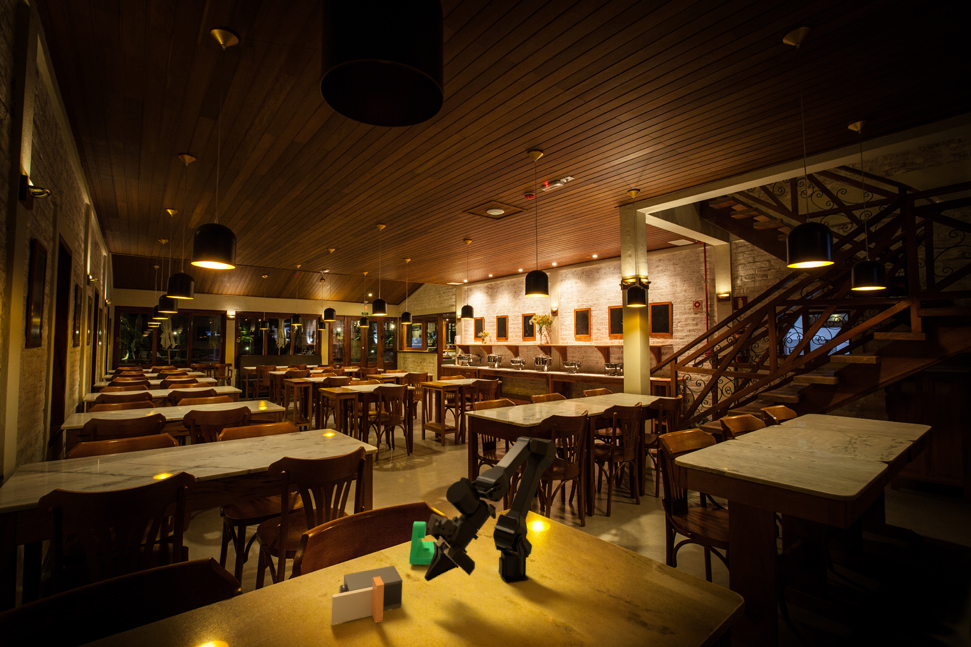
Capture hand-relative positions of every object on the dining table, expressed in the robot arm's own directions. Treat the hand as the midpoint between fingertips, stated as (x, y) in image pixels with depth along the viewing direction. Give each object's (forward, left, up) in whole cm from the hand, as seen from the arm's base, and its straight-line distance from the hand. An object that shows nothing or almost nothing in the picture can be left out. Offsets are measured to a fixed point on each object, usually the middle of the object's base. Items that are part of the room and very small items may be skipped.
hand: (425, 579), depth 100 cm
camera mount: (-4, -27, -7) cm, 28 cm away
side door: (+15, +2, -6) cm, 16 cm away
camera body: (+12, -5, -7) cm, 15 cm away
